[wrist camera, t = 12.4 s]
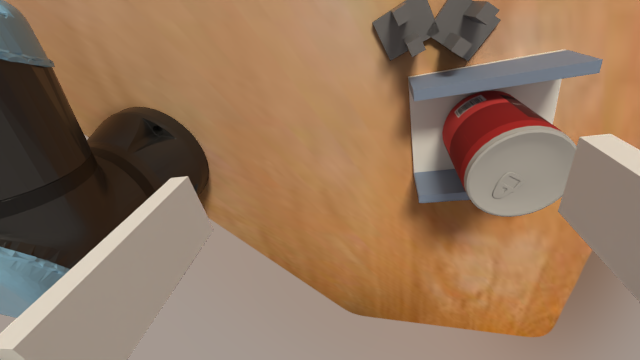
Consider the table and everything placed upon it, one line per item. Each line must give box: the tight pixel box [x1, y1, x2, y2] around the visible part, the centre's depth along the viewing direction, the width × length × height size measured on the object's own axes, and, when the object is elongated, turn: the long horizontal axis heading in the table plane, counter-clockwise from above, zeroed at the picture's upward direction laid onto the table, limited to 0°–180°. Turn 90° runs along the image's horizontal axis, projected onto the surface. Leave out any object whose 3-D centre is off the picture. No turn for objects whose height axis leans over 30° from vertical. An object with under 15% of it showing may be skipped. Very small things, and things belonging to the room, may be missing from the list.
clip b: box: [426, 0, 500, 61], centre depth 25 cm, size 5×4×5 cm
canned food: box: [442, 91, 577, 217], centre depth 27 cm, size 8×8×11 cm
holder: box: [408, 49, 602, 203], centre depth 29 cm, size 14×12×6 cm
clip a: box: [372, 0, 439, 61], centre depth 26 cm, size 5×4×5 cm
